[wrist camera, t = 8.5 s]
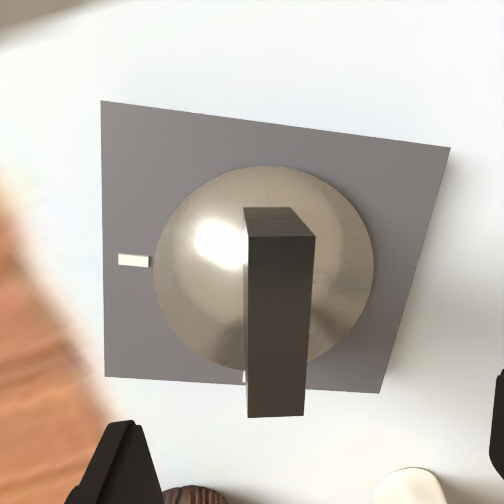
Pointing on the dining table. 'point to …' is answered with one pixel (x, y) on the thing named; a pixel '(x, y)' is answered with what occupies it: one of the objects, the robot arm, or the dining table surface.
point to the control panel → (227, 159)
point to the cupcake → (192, 496)
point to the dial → (264, 277)
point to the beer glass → (409, 488)
